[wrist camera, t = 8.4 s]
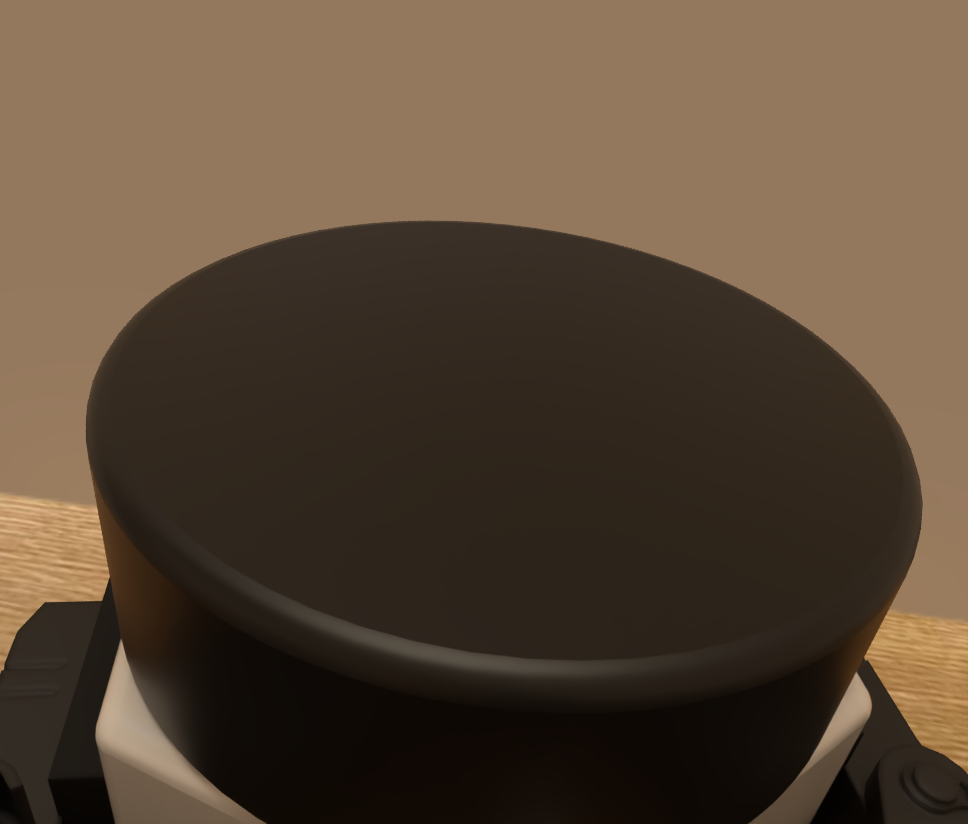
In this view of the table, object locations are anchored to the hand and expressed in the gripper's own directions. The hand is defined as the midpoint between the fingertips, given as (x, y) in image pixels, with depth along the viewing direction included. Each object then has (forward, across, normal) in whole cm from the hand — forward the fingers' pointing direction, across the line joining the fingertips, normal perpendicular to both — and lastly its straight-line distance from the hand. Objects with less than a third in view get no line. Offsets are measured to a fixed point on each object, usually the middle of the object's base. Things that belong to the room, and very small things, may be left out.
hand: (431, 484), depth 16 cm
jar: (-5, 0, -7) cm, 8 cm away
